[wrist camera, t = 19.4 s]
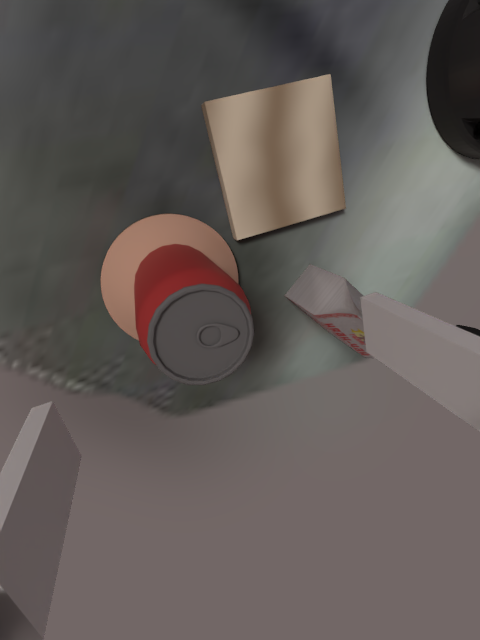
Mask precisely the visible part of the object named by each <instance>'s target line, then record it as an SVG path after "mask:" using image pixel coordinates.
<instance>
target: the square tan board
mask: <svg viewBox="0 0 480 640" xmlns="http://www.w3.org/2000/svg"><path fill="white" fill-rule="evenodd" d="M202 110H203V114H204V118H205V123H206V127H207V131H208V135H209V139H210V143H211V147H212V152H213V156H214V160H215V164H216V168H217V172H218V177H219V181H220V185H221V189H222V193H223V197H224V201H225V206H226V210H227V214H228V218H229V222H230V226H231V231H232V235H233V239H235V240H241V239H244V238H247V237H251V236H254V235H257V234H261V233H264V232H268V231H271V230H274V229H278V228H281V227H285V226H288V225H291V224H295V223H298V222H301V221H305V220H308V219H312V218H315V217H318V216H322V215H325V214H328V213H332V212H335V211H339V210H342V209H345V208H346V205H345V197H344V188H343V179H342V170H341V162H340V153H339V144H338V135H337V127H336V118H335V109H334V100H333V92H332V83H331V74H329V75H324V76H320V77H315V78H311V79H306V80H302V81H297V82H293V83H288V84H284V85H279V86H275V87H270V88H265V89H261V90H256V91H252V92H247V93H243V94H238V95H234V96H229V97H225V98H220V99H216V100H211V101H207V102H204V103H203V104H202Z"/></svg>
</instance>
